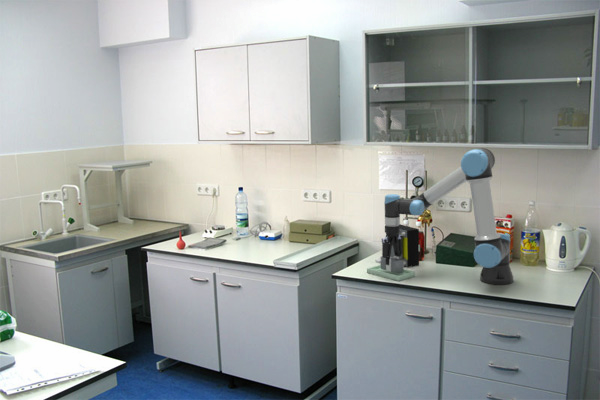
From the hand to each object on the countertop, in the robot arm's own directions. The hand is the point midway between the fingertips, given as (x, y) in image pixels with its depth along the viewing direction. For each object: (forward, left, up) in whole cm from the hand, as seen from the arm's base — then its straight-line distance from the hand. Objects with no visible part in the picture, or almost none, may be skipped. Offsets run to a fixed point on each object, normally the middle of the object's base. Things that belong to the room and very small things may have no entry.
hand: (392, 269), depth 287 cm
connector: (+2, 0, 0) cm, 2 cm away
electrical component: (+12, -22, -3) cm, 25 cm away
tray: (+1, 0, -3) cm, 3 cm away
